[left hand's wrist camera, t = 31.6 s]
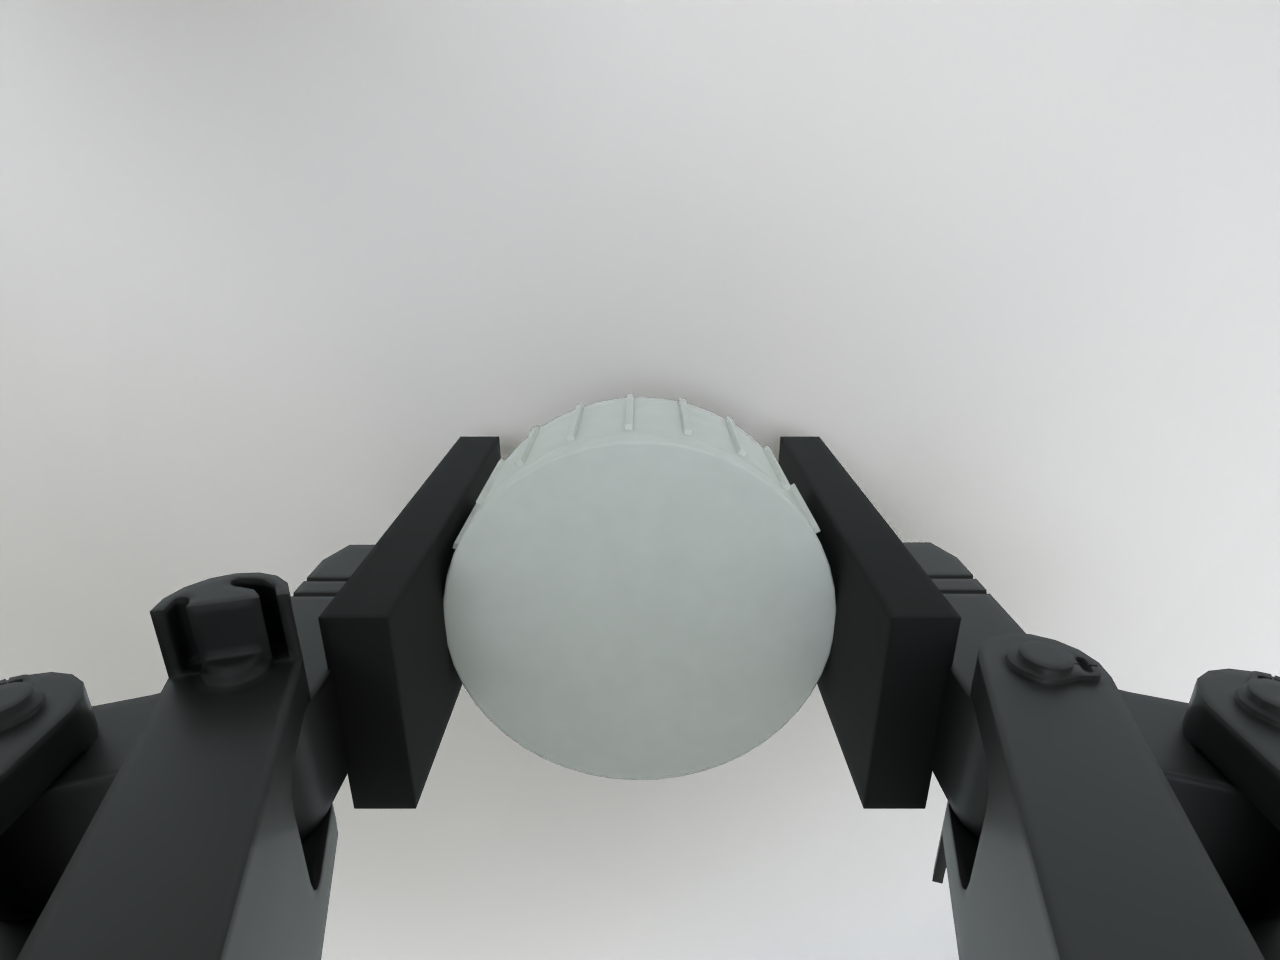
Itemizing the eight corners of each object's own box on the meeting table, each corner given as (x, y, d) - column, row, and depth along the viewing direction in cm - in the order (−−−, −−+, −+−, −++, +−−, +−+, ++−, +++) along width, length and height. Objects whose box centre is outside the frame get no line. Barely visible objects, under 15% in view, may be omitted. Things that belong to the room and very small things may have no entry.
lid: (681, 318, 11) (692, 346, 8) (866, 588, 12) (914, 667, 10) (403, 518, 12) (351, 586, 10) (606, 739, 13) (600, 839, 11)
